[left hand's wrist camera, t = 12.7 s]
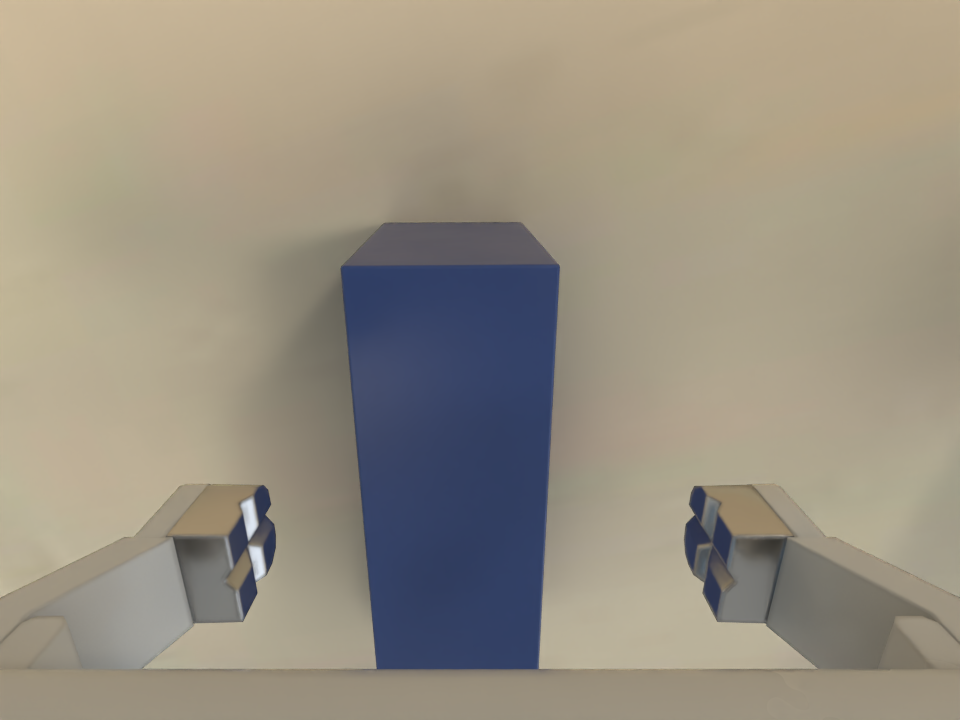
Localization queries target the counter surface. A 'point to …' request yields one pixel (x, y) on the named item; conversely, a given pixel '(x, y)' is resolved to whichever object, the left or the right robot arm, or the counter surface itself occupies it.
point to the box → (453, 438)
